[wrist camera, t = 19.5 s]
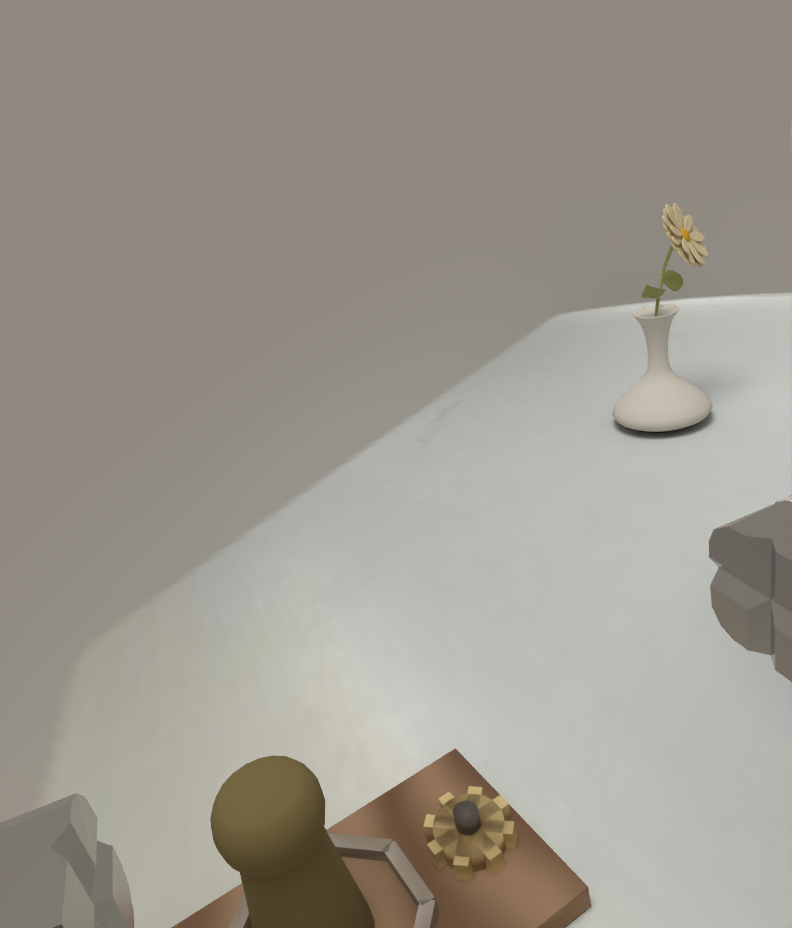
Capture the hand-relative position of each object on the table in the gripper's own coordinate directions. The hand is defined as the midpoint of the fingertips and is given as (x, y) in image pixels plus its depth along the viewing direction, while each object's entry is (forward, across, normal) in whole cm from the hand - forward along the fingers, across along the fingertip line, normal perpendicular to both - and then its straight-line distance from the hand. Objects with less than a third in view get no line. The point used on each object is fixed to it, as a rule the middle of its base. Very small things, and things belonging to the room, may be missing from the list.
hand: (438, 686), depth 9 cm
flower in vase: (+63, -51, +32) cm, 87 cm away
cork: (+20, +4, +30) cm, 36 cm away
